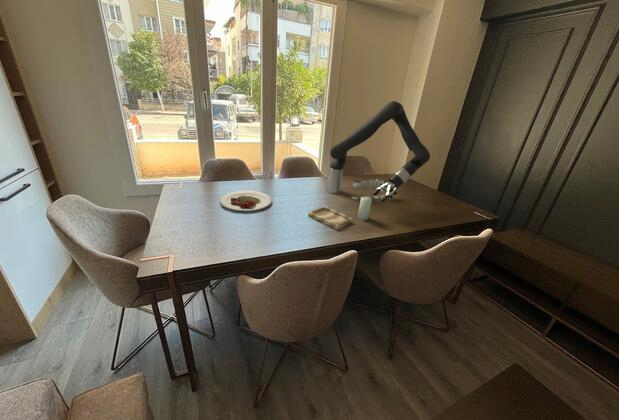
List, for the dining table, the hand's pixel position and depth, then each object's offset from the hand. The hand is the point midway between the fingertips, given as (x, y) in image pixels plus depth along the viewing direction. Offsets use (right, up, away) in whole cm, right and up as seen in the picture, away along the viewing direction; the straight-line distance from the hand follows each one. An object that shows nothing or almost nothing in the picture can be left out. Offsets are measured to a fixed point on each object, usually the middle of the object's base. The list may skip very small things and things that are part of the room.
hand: (377, 197), depth 143 cm
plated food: (-77, -3, +9) cm, 77 cm away
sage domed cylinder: (-8, -12, +3) cm, 14 cm away
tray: (-27, -12, -2) cm, 30 cm away
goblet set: (+3, +2, +34) cm, 34 cm away
